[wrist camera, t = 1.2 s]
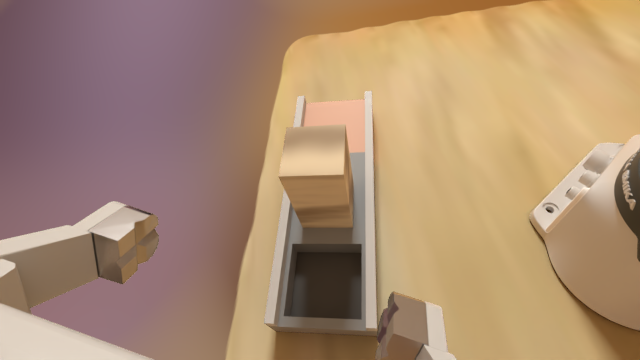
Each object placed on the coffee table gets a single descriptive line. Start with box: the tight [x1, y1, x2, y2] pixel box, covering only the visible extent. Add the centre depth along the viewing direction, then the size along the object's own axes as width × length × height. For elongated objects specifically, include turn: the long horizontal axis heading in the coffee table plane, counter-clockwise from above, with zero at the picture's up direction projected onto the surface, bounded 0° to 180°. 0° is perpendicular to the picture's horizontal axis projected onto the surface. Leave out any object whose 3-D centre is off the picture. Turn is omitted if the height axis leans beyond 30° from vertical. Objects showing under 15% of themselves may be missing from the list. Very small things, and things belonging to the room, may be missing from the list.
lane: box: [264, 91, 377, 336], centre depth 43 cm, size 32×11×4 cm, turn 176°
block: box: [279, 124, 354, 228], centre depth 36 cm, size 6×6×11 cm
